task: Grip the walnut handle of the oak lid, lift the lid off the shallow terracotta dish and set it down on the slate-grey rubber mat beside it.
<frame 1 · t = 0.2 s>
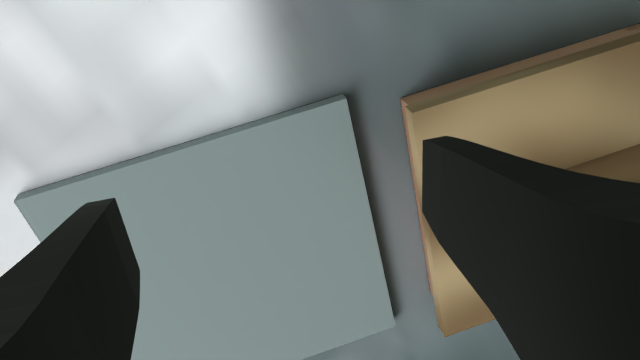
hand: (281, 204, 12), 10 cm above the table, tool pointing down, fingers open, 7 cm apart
oak lid: (549, 189, 24), point 2 cm above the table, touching terracotta dish
terracotta dish: (525, 170, 26), on the table
rubber mat: (236, 267, 24), on the table
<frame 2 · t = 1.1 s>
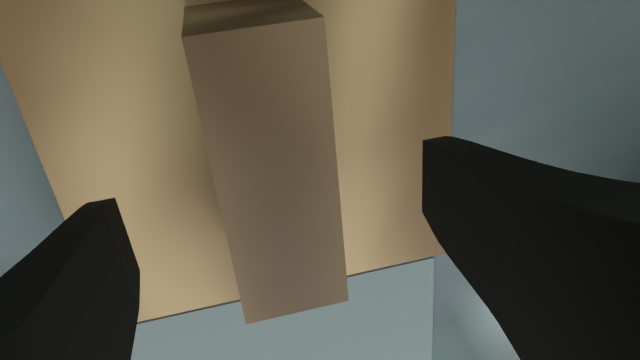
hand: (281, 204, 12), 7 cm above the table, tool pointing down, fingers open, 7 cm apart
oak lid: (258, 122, 16), point 2 cm above the table, touching terracotta dish
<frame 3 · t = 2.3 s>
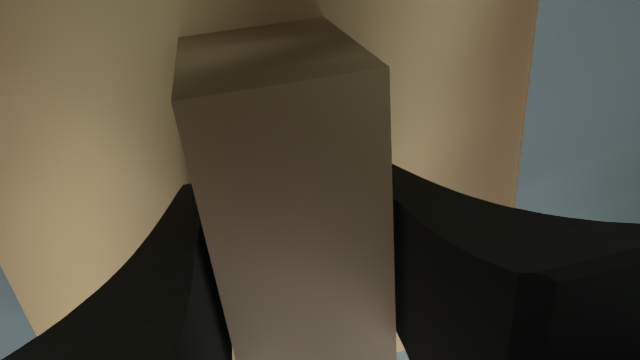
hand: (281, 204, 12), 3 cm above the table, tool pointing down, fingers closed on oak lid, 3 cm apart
oak lid: (273, 179, 13), point 2 cm above the table, touching gripper, terracotta dish
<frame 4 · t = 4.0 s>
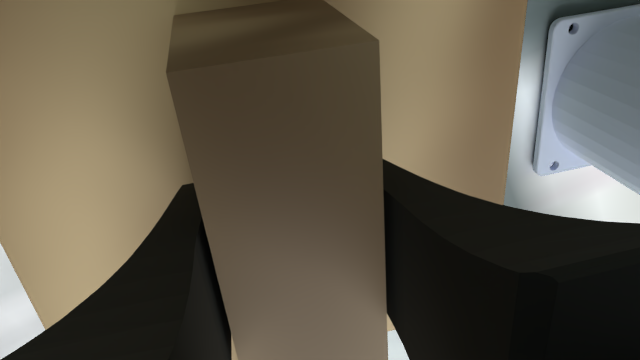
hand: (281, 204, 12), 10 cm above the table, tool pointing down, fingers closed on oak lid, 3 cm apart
oak lid: (268, 158, 13), point 9 cm above the table, touching gripper
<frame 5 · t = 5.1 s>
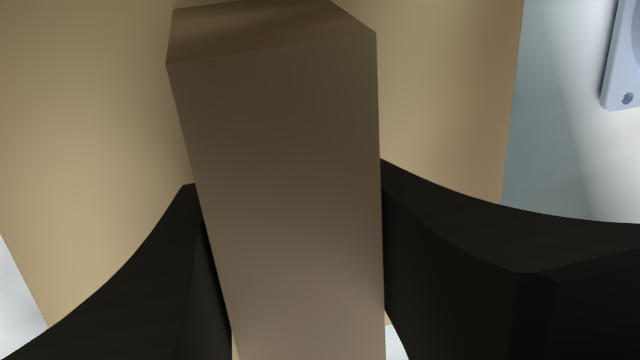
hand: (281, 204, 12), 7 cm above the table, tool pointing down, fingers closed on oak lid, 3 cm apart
oak lid: (267, 153, 13), point 5 cm above the table, touching gripper
when the fingers open (4 cm above the table, at t = 6.0 s): oak lid drops 1 cm, resting on rubber mat.
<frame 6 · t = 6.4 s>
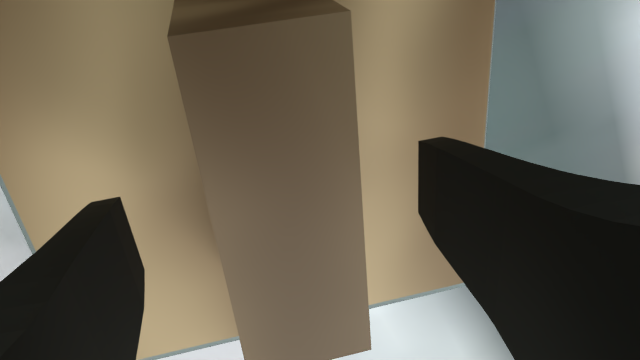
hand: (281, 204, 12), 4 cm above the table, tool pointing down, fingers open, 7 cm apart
oak lid: (262, 135, 14), point 1 cm above the table, touching rubber mat
rubber mat: (262, 142, 15), on the table
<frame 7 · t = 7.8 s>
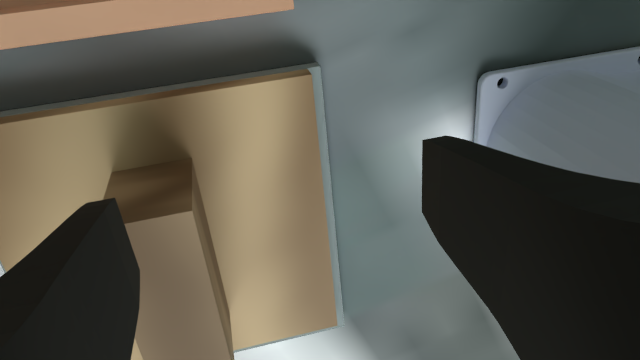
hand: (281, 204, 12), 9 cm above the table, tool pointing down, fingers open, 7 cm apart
oak lid: (177, 238, 22), point 1 cm above the table, touching rubber mat
rubber mat: (180, 239, 22), on the table
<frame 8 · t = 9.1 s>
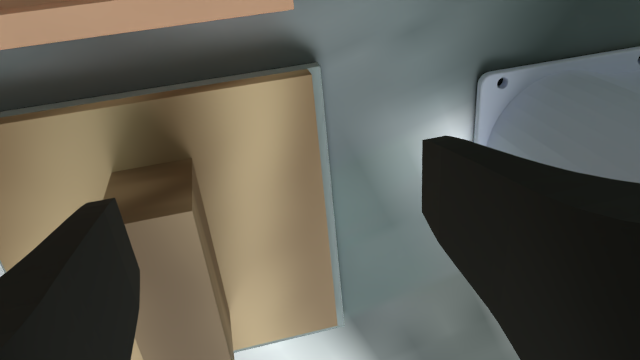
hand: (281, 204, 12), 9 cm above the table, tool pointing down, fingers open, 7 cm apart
oak lid: (177, 238, 22), point 1 cm above the table, touching rubber mat
rubber mat: (180, 239, 22), on the table
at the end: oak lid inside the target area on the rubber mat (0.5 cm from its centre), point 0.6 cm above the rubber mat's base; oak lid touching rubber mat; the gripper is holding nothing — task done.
